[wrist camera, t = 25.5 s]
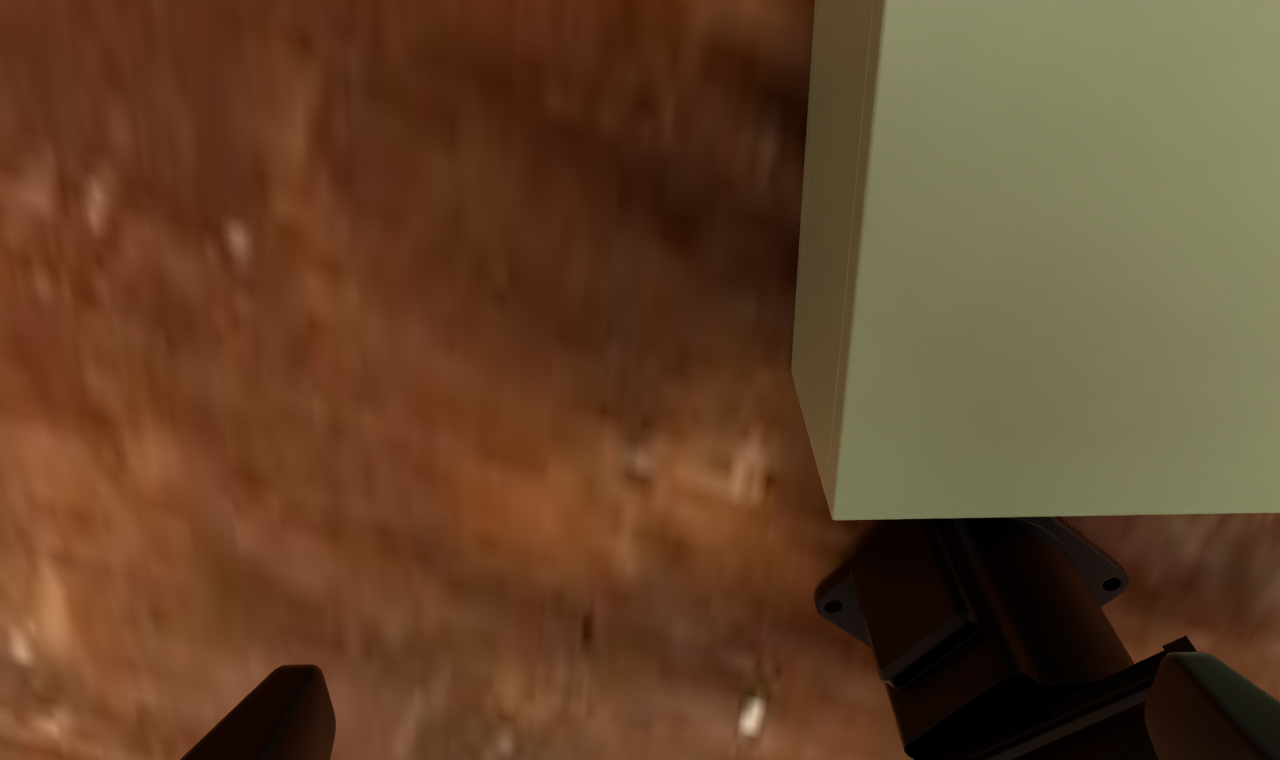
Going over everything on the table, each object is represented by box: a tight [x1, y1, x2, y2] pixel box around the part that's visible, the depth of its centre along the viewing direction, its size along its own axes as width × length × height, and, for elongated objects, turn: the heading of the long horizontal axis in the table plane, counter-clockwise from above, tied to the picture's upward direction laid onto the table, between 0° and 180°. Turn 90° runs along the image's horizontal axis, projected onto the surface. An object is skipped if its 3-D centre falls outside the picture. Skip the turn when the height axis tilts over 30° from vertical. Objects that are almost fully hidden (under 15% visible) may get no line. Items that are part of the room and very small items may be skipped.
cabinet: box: [791, 0, 1280, 520], centre depth 17 cm, size 13×11×6 cm
